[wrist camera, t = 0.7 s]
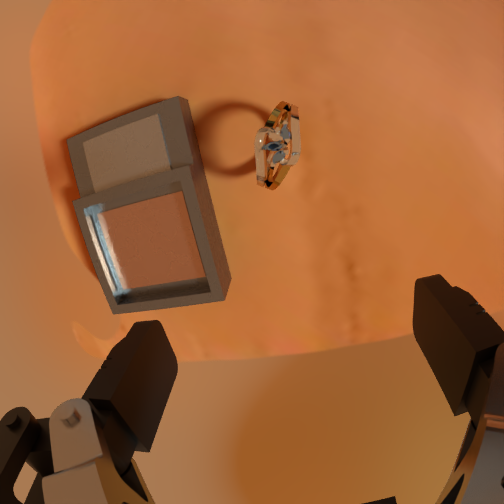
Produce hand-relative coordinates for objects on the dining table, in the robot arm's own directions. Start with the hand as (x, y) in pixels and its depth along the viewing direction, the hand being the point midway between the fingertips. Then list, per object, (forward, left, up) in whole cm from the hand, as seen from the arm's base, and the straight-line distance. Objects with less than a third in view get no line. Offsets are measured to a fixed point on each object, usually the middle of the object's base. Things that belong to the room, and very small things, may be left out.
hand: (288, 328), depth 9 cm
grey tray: (-2, -12, -21) cm, 24 cm away
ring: (-5, +1, -21) cm, 22 cm away
